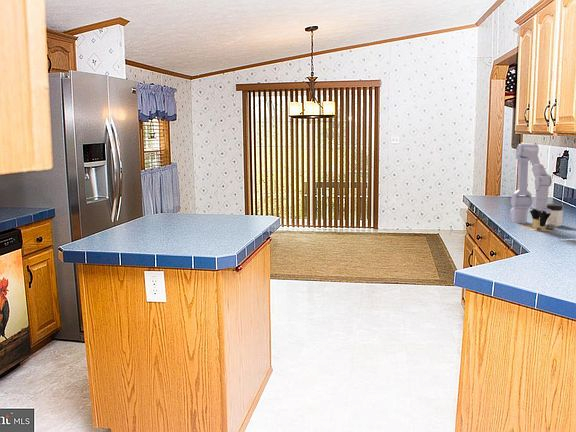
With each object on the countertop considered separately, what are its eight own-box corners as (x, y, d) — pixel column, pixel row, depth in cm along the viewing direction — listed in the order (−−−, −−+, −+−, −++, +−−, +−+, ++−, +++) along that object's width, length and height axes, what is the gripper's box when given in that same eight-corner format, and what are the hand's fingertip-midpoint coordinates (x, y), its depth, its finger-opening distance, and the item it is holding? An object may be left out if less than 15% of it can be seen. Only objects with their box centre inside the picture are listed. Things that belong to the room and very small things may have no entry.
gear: (542, 228, 279) (543, 222, 279) (551, 228, 280) (551, 222, 279) (548, 230, 274) (549, 224, 274) (557, 230, 275) (557, 224, 275)
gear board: (517, 227, 287) (518, 220, 287) (539, 226, 289) (540, 219, 289) (536, 233, 272) (536, 225, 271) (559, 232, 274) (560, 225, 273)
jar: (542, 227, 289) (544, 205, 287) (543, 224, 296) (545, 203, 294) (561, 228, 285) (563, 206, 283) (561, 226, 292) (564, 204, 290)
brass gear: (531, 226, 278) (532, 218, 277) (540, 225, 279) (540, 218, 278) (537, 227, 273) (538, 220, 272) (546, 227, 274) (546, 220, 273)
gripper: (525, 197, 280) (523, 222, 282) (543, 201, 266) (540, 227, 268) (537, 196, 281) (535, 222, 283) (556, 200, 267) (553, 227, 269)
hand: (538, 225), depth 276 cm, fingers closed on brass gear, 5 cm apart
